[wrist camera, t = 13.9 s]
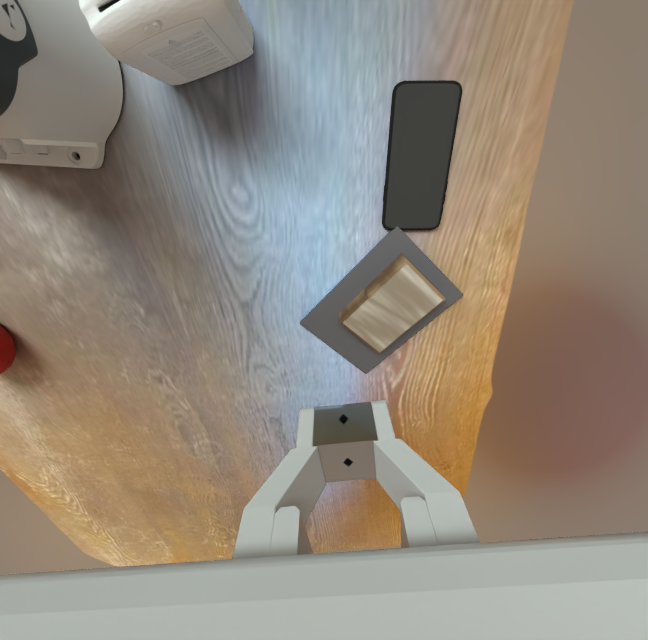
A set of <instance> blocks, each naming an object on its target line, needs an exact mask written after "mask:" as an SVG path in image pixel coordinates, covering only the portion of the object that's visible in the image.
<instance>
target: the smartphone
mask: <svg viewBox="0 0 648 640" xmlns="http://www.w3.org/2000/svg"><path fill="white" fill-rule="evenodd" d="M461 95H462V87H461V85H460V84H459V83H458V82H456V81H402V82H400V83H398V84H397V85H396V86H395V87H394V90H393V93H392V105H391V117H390V129H389V141H388V154H387V166H386V178H385V186H384V197H383V201H384V203H383V216H382V224H383V226H384V228H386V229H389V230H394V229H395V228H396V227H397V226H398V227H399V228H400V229H401V230H431V229H435V228H436V227H438V226H439V224H440V221H441V215H442V212H443V204H444V200H445V192H446V189H447V183H448V182H447V179H448V173H449V167H450V161H451V155H452V149H453V143H454V137H455V131H456V125H457V119H458V113H459V107H460V101H461Z"/></svg>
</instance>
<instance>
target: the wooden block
mask: <svg viewBox="0 0 648 640" xmlns="http://www.w3.org/2000/svg"><path fill="white" fill-rule="evenodd" d="M445 299H446V298H445V297H444V296H443V295H442V293H441V292H440V291H439V290H438V289H437V288H436V287H435V286H434V285H433V284H432V283H431V282H430V281H429V280H428V279H427V278H426V277H425V276H424V275H423V274H422V273H421V272H420V271H419V270H418V269H417V268H416V267H415V266H414V265H413V264H412V263H411V262H410V261H409V260H408V259H407V258H406V257H405V256H404V255H403V254H402V253H401V254H400V255H399V256H398V257H397V258H396V259H395V260H394V261H393V262H392V263H391V264H390V265H389V266H388V267H387V268H386V269H384V270H383V271H382V272H381V273H380V274H379V275H378V276H377V277H376V278H375V279H374V280H373V281H372V282H371V283H370V284H369V285H368V286H367V287H366V288H365V289H364V290H363V291H361V292H360V293H359V294H358V295H357V296H356V297H355V298H354V299H353V300H352V301H351V302H350V303H349V304H348V305H347V306H346V307H345V308H344V309H343V310H342V311H341V312H339V322H340V323H341V324H342V325H343V326H345V327H346V328H347V329H348V330H350V331H351V332H352V333H353V334H355V335H356V336H357V337H358V338H360V339H361V340H362V341H363V342H365V343H366V344H367V345H368V346H369V347H371V348H372V349H373V350H374V351H376V352H377V353H378V354H380V353H381V352H382V351H383V350H385V349H386V348H387V347H388V346H389V345H391V344H392V343H393V342H394V341H396V340H397V339H398V338H399V337H400V336H402V335H403V334H404V333H405V332H406V331H408V330H409V329H410V328H411V327H413V326H414V325H415V324H416V323H417V322H419V321H420V320H421V319H422V318H423V317H425V316H426V315H427V314H428V313H430V312H431V311H432V310H433V309H434V308H436V307H437V306H438V305H439V304H440V303H442V302H443V301H444V300H445Z"/></svg>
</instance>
